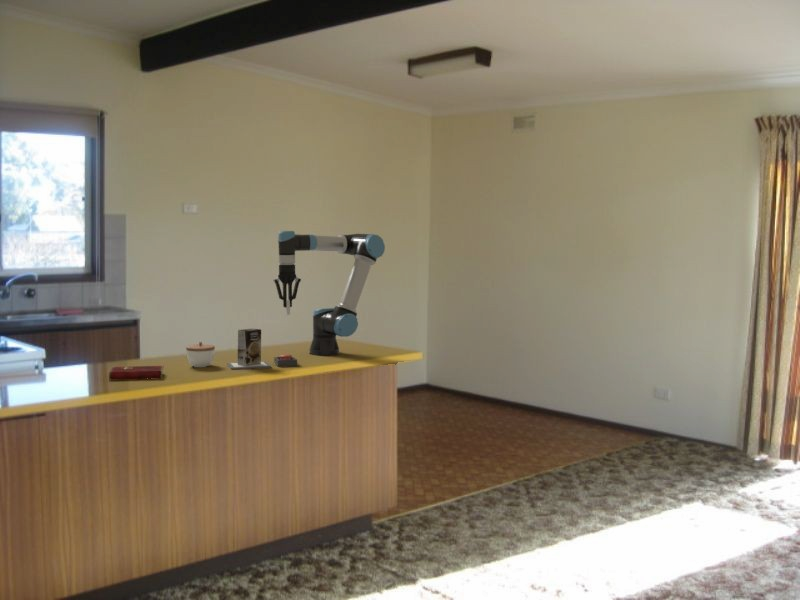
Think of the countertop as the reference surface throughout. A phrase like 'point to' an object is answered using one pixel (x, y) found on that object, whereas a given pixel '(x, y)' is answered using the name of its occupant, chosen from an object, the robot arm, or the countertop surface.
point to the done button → (285, 357)
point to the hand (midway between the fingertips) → (287, 314)
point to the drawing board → (236, 366)
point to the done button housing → (285, 362)
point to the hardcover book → (136, 372)
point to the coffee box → (249, 347)
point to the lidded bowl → (200, 354)
